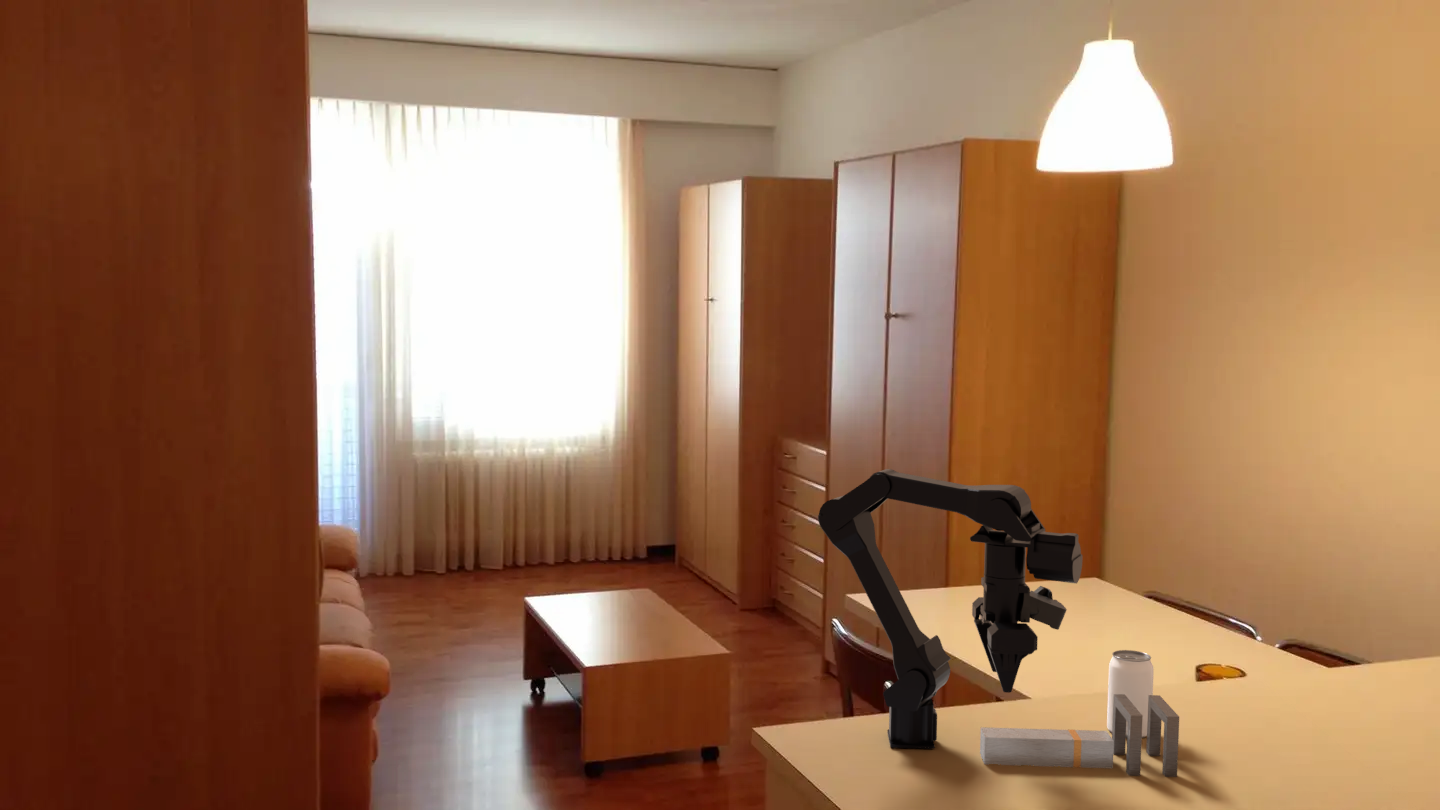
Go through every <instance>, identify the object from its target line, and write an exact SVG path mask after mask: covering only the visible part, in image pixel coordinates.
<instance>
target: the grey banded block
mask: <svg viewBox="0 0 1440 810" xmlns="http://www.w3.org/2000/svg"><path fill="white" fill-rule="evenodd" d="M979 740H980V743H979V746H980V747H979V755H980V754H981V755H980V757H981V759H983V760H982V762H983V765H989V764H998V765H997V766H1021V765H1028V767H1029V765H1031V766H1030V767H1053V768H1055V767H1058V766H1060V767H1059V768H1089V769H1090V768H1091V769H1092V768H1093V769H1114V754H1113V749H1114V741H1113V739H1112V736H1111V735H1110V734H1109V732H1108V731H1107V730H1086V729H1084V730H1083V729H1081V730H1080V729H1052V728H1050V729H1049V728H1048V729H1047V728H1024V727H1023V728H1020V727H1019V728H1018V727H987V726H986V727H984V726H983V727H982V726H981V727H980V739H979ZM1000 764H1001V765H1000ZM1033 765H1034V766H1033ZM1054 766H1055V767H1054Z"/></svg>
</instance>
